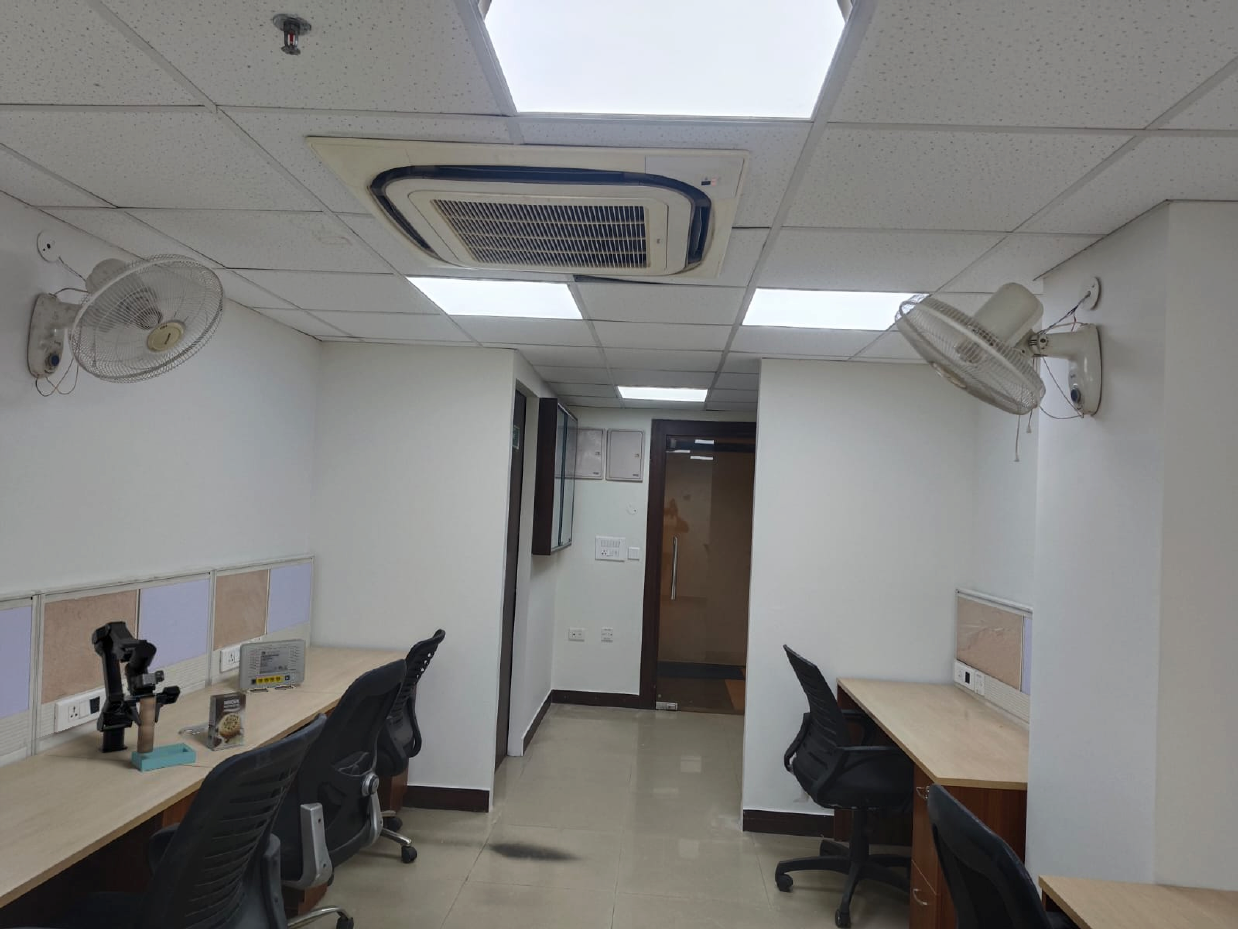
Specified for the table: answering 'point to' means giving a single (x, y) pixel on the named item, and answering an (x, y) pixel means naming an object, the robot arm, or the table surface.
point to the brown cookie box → (226, 721)
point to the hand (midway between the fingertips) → (148, 723)
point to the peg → (146, 725)
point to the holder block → (164, 757)
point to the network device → (271, 663)
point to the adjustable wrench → (195, 728)
